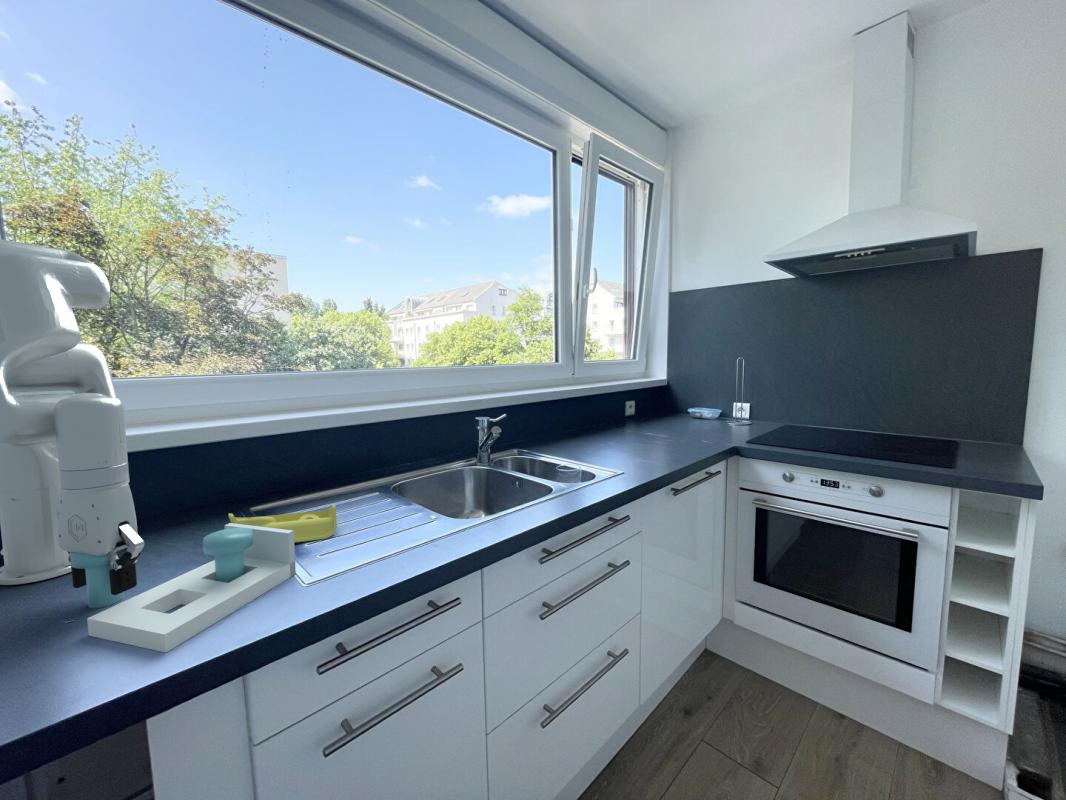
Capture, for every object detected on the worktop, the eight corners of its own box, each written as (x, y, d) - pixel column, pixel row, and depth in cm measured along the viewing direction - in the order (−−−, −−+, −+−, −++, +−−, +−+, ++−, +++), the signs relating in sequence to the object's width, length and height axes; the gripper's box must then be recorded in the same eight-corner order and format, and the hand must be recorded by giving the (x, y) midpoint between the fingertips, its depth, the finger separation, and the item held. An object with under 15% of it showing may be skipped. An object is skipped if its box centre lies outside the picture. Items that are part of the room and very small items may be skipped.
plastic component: (329, 510, 106) (336, 502, 98) (330, 542, 103) (337, 537, 96) (229, 519, 95) (227, 512, 87) (227, 555, 93) (225, 550, 85)
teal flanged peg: (195, 594, 72) (192, 541, 71) (233, 575, 78) (230, 525, 78) (228, 600, 70) (225, 545, 69) (264, 579, 77) (262, 529, 76)
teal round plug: (63, 609, 67) (58, 552, 66) (115, 587, 74) (111, 535, 73) (96, 616, 66) (90, 557, 65) (146, 593, 72) (142, 539, 71)
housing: (88, 635, 61) (83, 579, 60) (232, 564, 82) (230, 523, 82) (165, 652, 58) (161, 593, 57) (295, 574, 79) (293, 530, 78)
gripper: (24, 479, 66) (35, 592, 68) (108, 487, 62) (118, 608, 64) (85, 467, 74) (94, 569, 75) (164, 474, 69) (172, 582, 71)
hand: (105, 586), depth 69 cm, fingers open, 7 cm apart
